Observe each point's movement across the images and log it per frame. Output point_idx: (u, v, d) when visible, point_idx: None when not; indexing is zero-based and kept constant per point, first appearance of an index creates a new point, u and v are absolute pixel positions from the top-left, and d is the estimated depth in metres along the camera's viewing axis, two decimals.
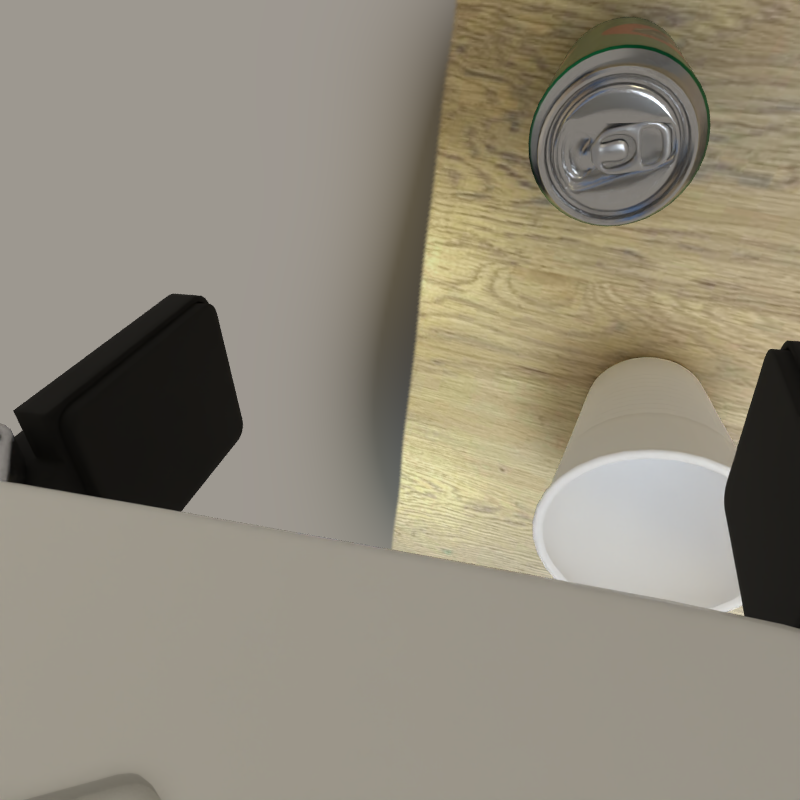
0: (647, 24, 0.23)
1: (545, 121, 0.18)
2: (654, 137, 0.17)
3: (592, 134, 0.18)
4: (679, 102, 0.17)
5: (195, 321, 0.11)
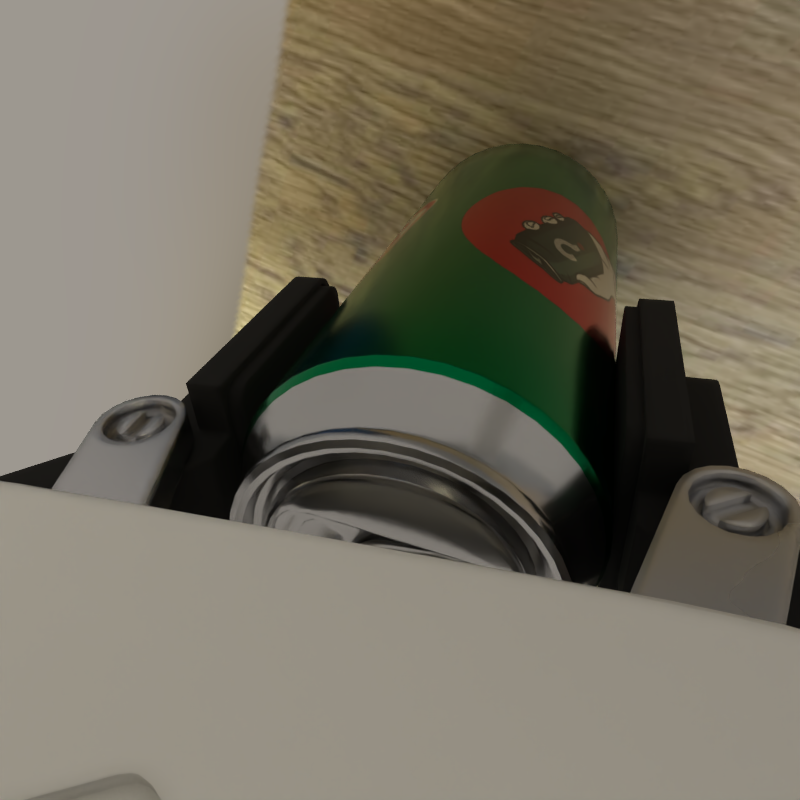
0: (564, 187, 0.13)
1: (241, 486, 0.07)
2: None
3: (347, 535, 0.08)
4: (540, 543, 0.07)
5: (323, 303, 0.11)
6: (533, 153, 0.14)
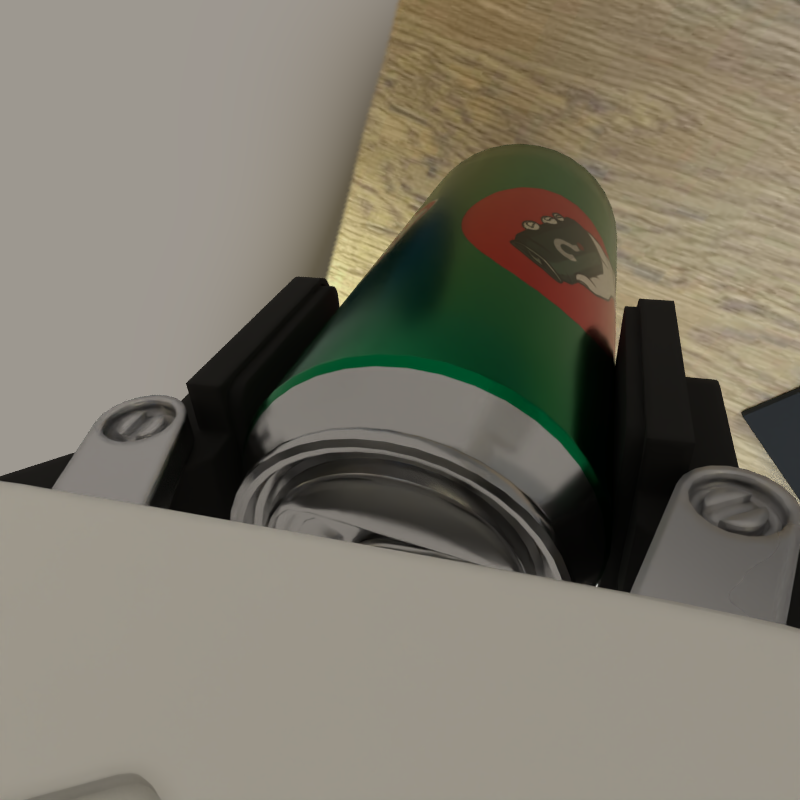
0: (564, 187, 0.13)
1: (242, 485, 0.07)
2: None
3: (348, 534, 0.08)
4: (541, 542, 0.07)
5: (323, 302, 0.11)
6: (533, 153, 0.14)
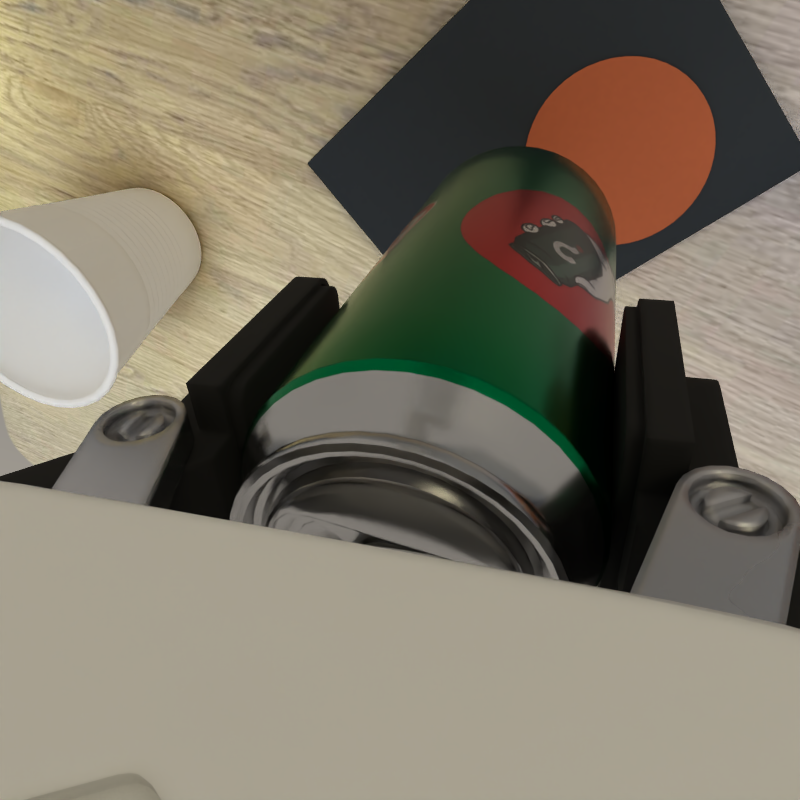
0: (563, 189, 0.13)
1: (241, 489, 0.07)
2: None
3: (346, 537, 0.08)
4: (540, 546, 0.07)
5: (323, 302, 0.11)
6: (532, 155, 0.14)
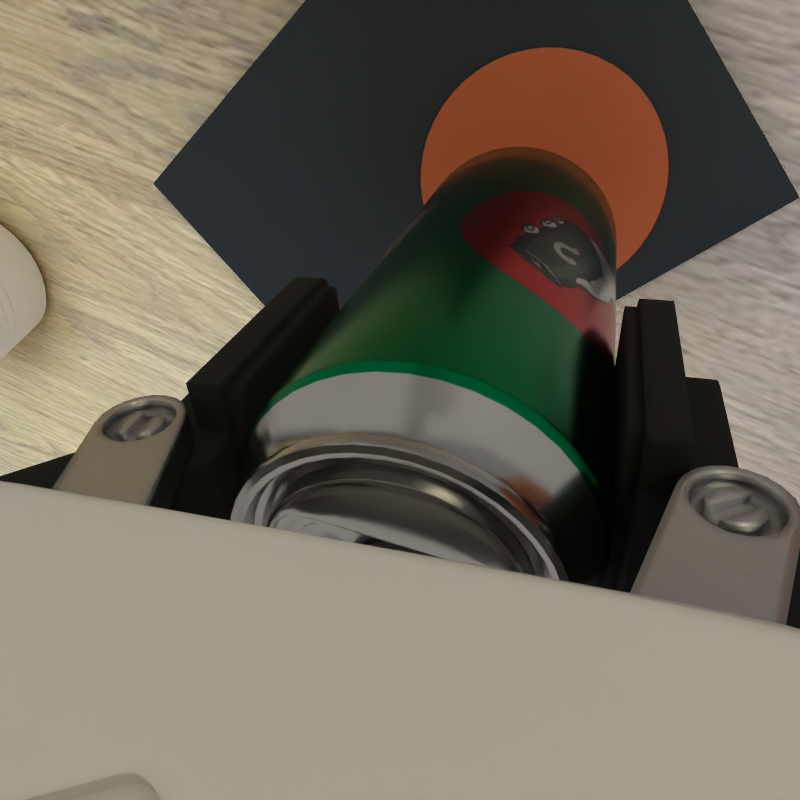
0: (564, 190, 0.13)
1: (242, 490, 0.07)
2: None
3: (347, 539, 0.08)
4: (541, 547, 0.07)
5: (324, 303, 0.11)
6: (533, 156, 0.14)
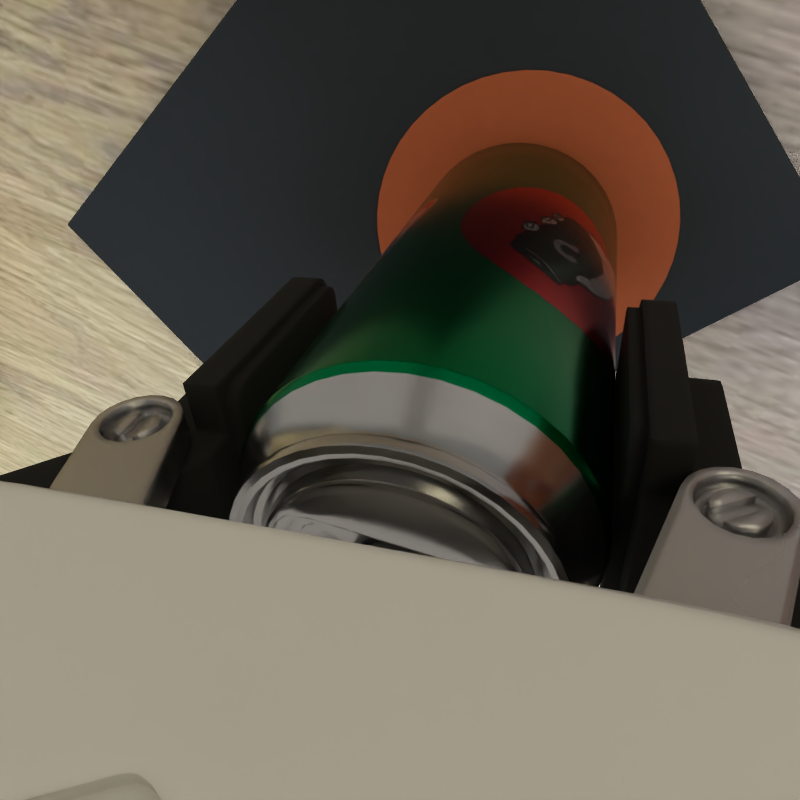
0: (564, 186, 0.13)
1: (240, 491, 0.07)
2: None
3: (347, 539, 0.08)
4: (540, 549, 0.07)
5: (321, 303, 0.11)
6: (533, 152, 0.14)
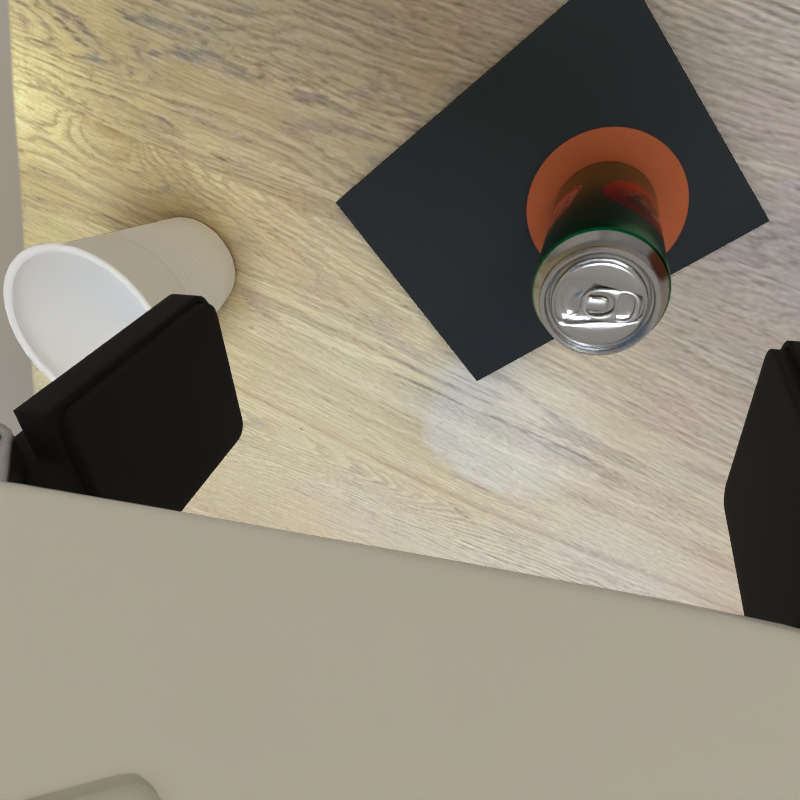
0: (638, 181, 0.29)
1: (552, 270, 0.23)
2: (629, 302, 0.23)
3: (584, 288, 0.23)
4: (651, 283, 0.23)
5: (195, 321, 0.11)
6: (619, 166, 0.30)
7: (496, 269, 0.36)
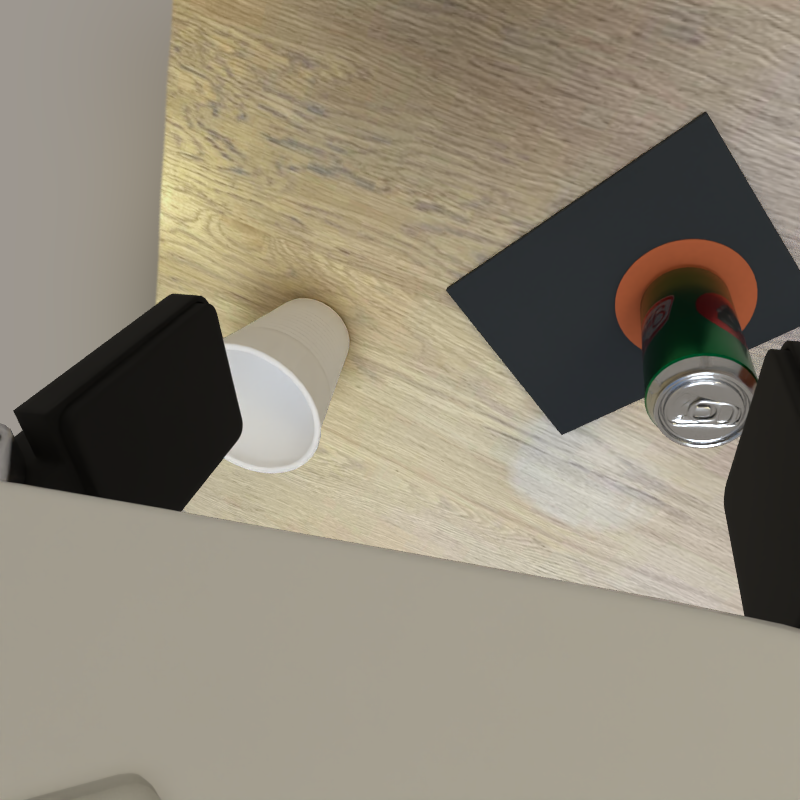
0: (719, 290, 0.35)
1: (667, 386, 0.29)
2: (728, 410, 0.29)
3: (692, 399, 0.29)
4: (747, 398, 0.29)
5: (195, 321, 0.11)
6: (701, 273, 0.36)
7: (585, 346, 0.42)
